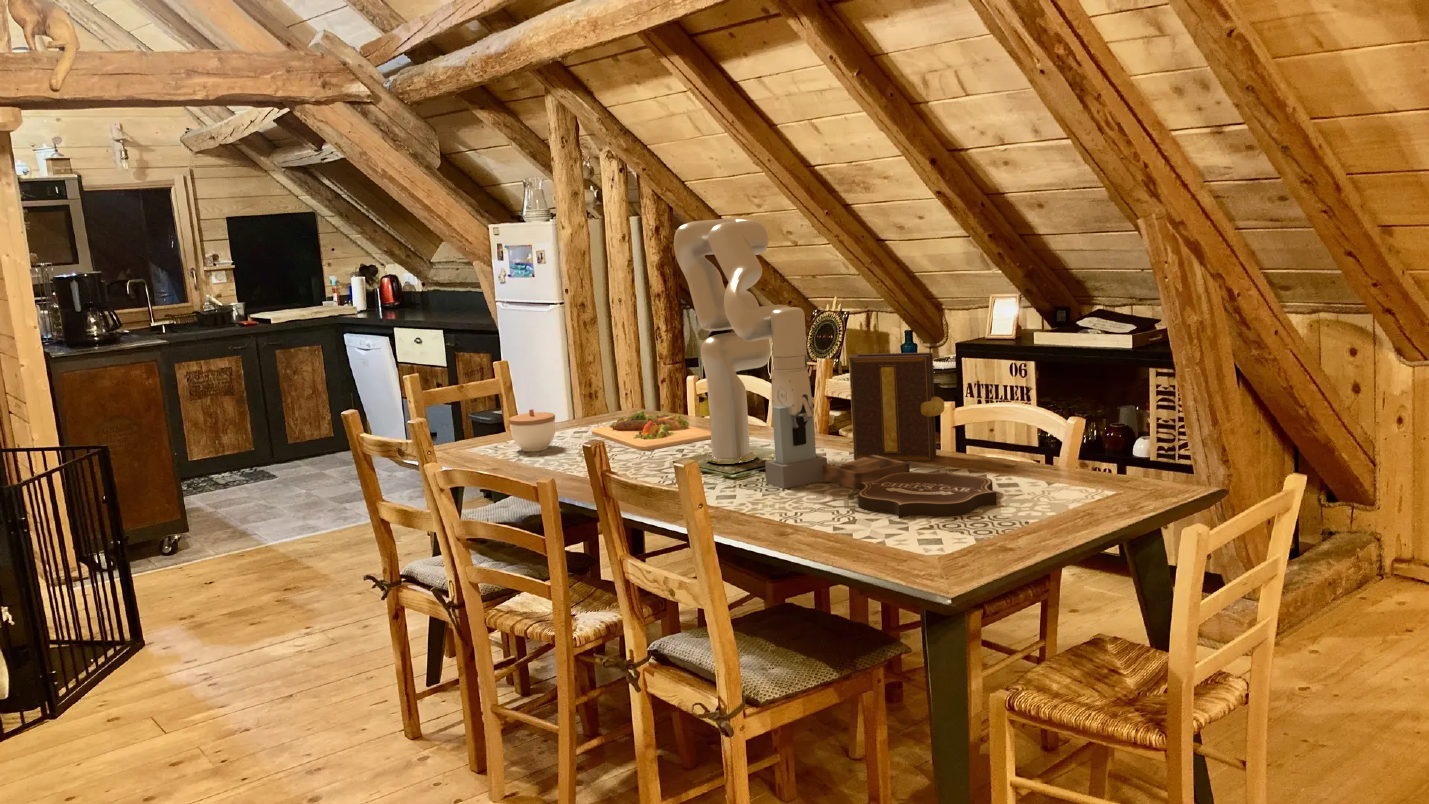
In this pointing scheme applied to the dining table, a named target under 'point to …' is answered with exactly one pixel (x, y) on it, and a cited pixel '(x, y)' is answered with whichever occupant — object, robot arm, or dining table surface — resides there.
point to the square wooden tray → (853, 478)
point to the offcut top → (862, 465)
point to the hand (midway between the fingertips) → (795, 442)
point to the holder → (795, 472)
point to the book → (894, 406)
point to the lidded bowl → (533, 430)
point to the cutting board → (651, 431)
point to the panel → (791, 438)
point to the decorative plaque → (926, 494)
